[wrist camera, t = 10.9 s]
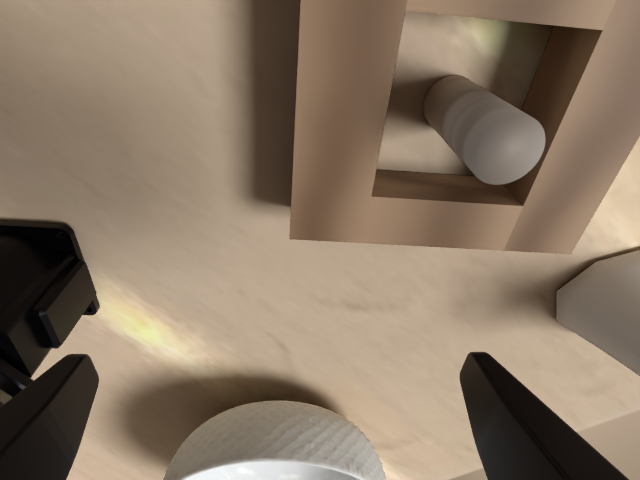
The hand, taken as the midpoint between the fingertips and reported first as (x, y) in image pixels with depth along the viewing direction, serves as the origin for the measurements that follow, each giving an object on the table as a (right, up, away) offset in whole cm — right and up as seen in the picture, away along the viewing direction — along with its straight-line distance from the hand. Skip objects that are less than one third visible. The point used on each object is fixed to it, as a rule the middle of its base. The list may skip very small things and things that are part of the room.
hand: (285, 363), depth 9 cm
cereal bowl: (-3, -13, +24) cm, 27 cm away
